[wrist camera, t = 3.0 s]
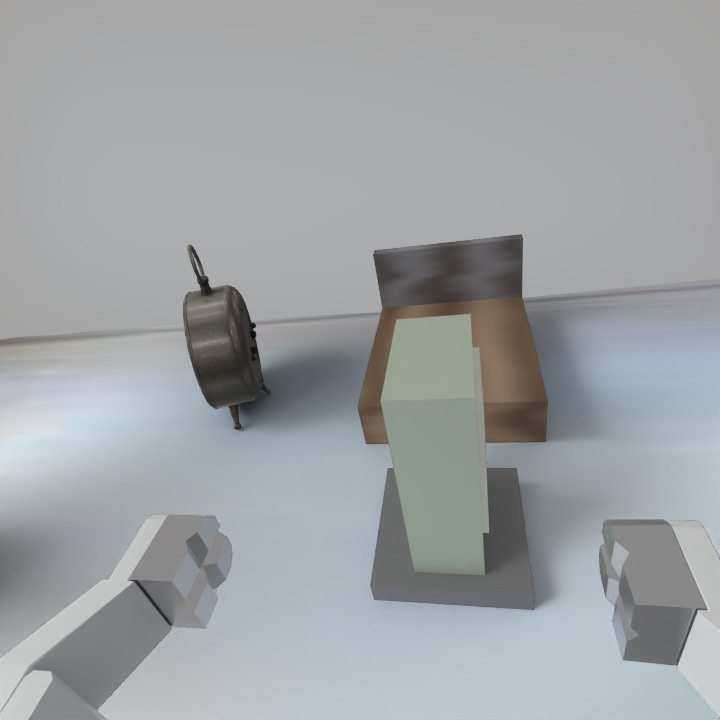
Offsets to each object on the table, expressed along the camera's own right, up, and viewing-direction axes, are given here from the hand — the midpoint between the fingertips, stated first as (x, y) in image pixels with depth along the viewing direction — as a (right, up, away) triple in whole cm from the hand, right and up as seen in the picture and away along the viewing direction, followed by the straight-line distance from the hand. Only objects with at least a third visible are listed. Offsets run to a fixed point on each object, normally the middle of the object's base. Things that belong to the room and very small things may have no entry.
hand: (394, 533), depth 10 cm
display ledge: (+8, +2, +34) cm, 35 cm away
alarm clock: (-12, 0, +38) cm, 39 cm away
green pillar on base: (+5, -8, +21) cm, 23 cm away
